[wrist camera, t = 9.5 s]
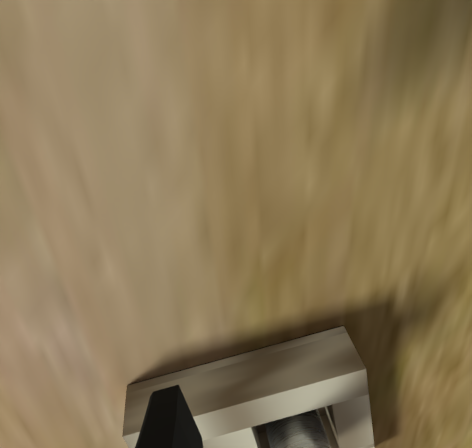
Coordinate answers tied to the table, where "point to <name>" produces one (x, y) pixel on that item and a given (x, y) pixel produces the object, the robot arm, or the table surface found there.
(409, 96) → the table surface
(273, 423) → the pin
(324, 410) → the socket block
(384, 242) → the table surface
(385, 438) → the table surface
